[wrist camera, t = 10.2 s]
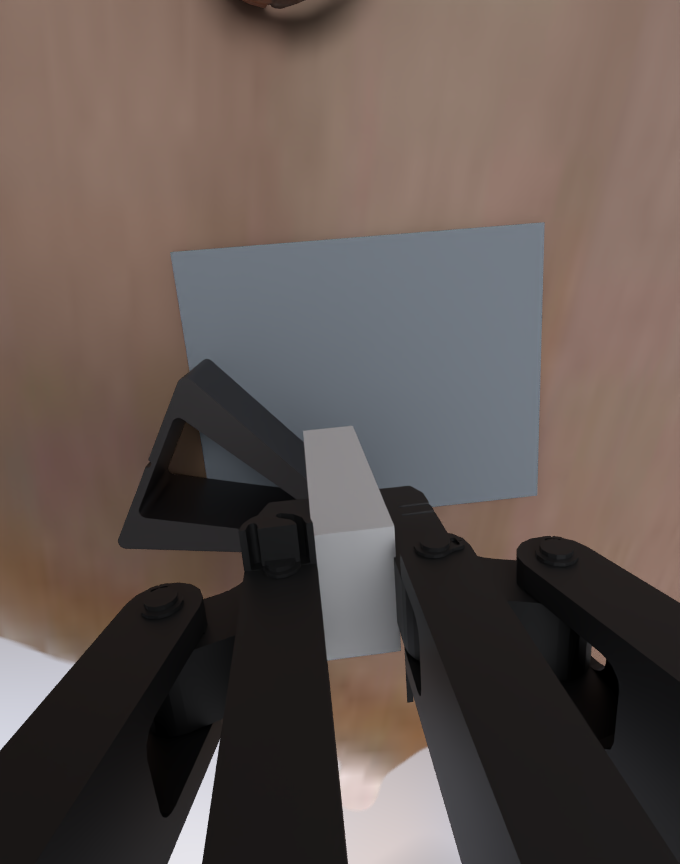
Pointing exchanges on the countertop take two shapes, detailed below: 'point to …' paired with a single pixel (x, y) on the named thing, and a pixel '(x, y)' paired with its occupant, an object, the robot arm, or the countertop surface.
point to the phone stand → (210, 498)
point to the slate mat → (384, 350)
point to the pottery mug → (272, 3)
